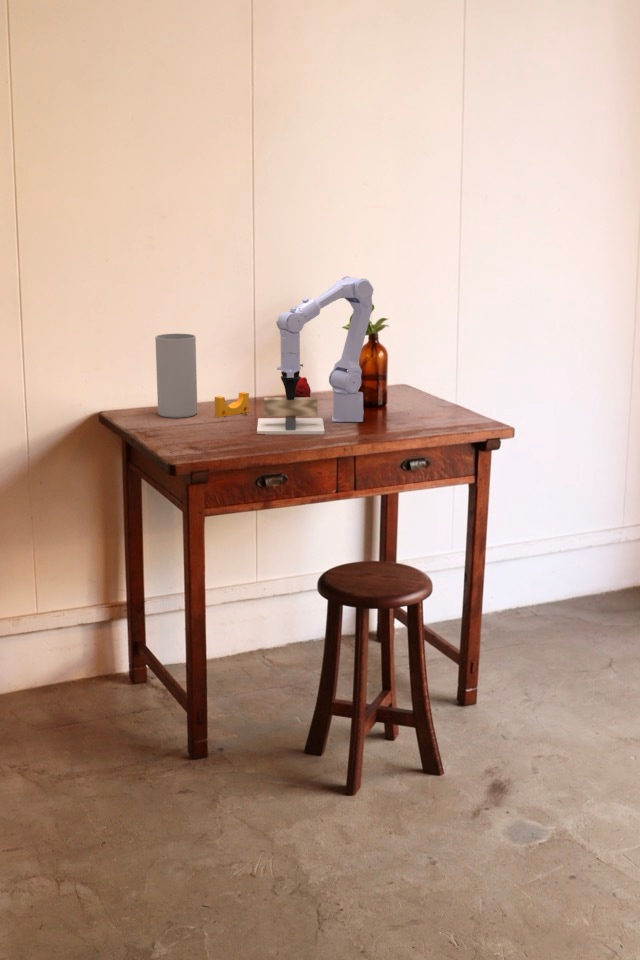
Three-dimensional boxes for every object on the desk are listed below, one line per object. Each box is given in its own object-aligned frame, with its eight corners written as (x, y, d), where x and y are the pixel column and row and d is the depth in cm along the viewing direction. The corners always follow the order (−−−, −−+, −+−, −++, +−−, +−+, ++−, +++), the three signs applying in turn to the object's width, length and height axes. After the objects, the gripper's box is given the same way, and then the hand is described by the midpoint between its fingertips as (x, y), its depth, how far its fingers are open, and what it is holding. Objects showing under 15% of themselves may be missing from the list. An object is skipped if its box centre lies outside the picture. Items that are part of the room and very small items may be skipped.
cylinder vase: (197, 409, 376) (195, 333, 370) (197, 418, 364) (195, 338, 358) (158, 410, 375) (155, 333, 368) (157, 418, 363) (155, 339, 356)
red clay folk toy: (313, 401, 390) (313, 357, 386) (305, 405, 383) (305, 360, 380) (293, 400, 393) (292, 356, 389) (284, 403, 386) (284, 359, 382)
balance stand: (322, 421, 360) (322, 408, 359) (324, 434, 343) (324, 421, 342) (258, 421, 360) (258, 408, 359) (256, 434, 342) (256, 421, 341)
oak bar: (317, 413, 352) (317, 397, 351) (317, 415, 349) (317, 399, 347) (264, 413, 352) (264, 397, 350) (264, 416, 348) (264, 399, 347)
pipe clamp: (240, 410, 376) (239, 391, 374) (248, 412, 373) (248, 393, 371) (211, 416, 368) (211, 396, 366) (220, 418, 365) (219, 398, 363)
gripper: (277, 348, 352) (277, 392, 356) (276, 356, 338) (277, 402, 342) (300, 348, 352) (300, 392, 356) (300, 356, 338) (300, 401, 342)
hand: (290, 397), depth 349 cm, fingers open, 7 cm apart
